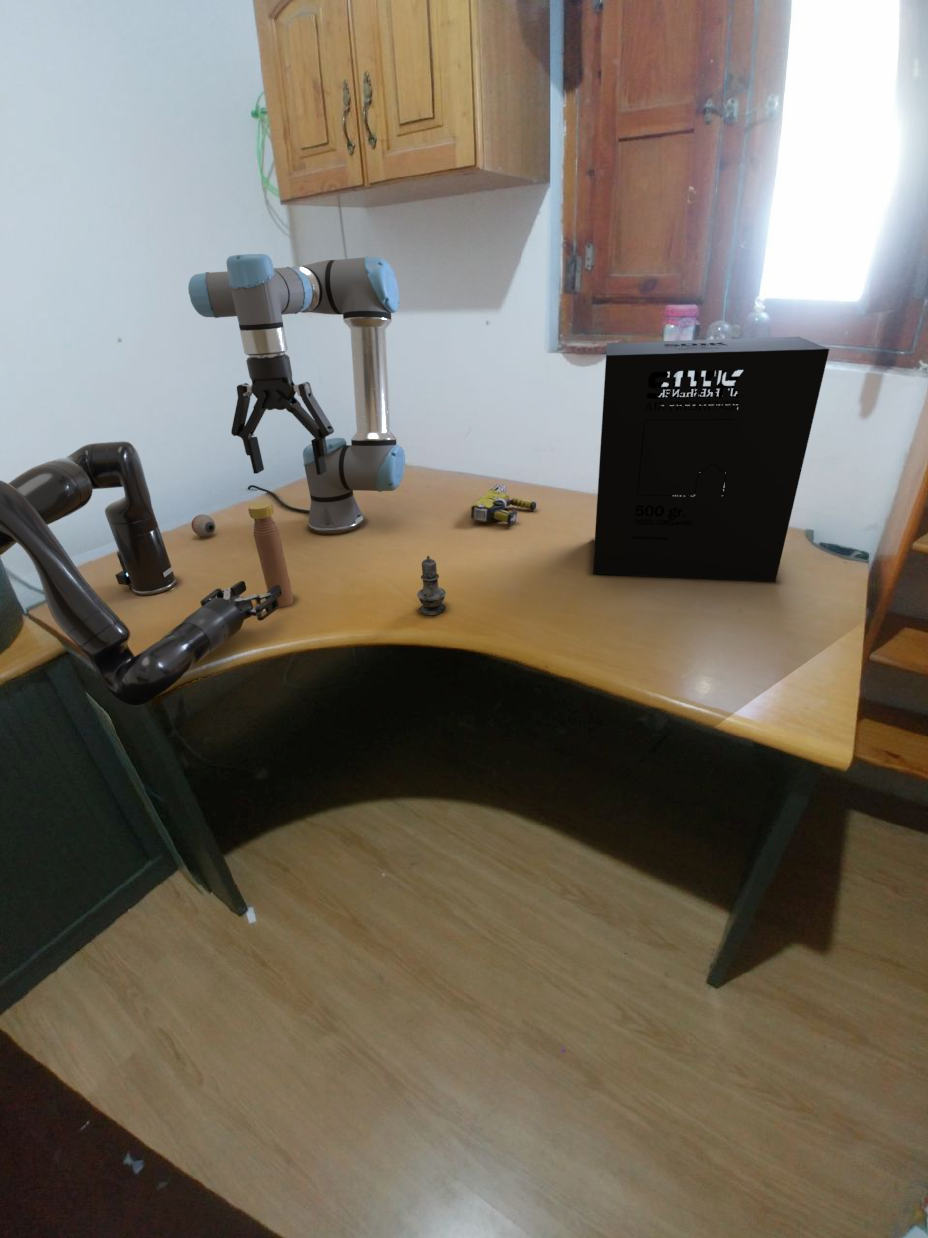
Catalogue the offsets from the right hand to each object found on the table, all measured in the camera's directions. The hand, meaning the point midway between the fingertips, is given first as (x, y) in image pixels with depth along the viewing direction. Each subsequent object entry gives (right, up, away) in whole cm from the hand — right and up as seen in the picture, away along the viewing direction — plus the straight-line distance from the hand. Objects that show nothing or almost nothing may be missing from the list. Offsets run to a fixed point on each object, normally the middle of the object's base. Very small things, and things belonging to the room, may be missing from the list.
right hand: (290, 472), depth 118 cm
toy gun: (+47, +2, +53) cm, 71 cm away
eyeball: (-37, -6, +49) cm, 62 cm away
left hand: (-7, -22, +5) cm, 24 cm away
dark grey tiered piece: (+28, -27, +6) cm, 39 cm away
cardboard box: (+83, -15, +21) cm, 87 cm away
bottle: (-5, -25, +12) cm, 29 cm away
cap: (-6, -6, +1) cm, 9 cm away
